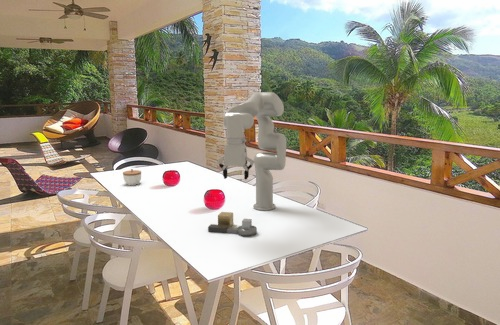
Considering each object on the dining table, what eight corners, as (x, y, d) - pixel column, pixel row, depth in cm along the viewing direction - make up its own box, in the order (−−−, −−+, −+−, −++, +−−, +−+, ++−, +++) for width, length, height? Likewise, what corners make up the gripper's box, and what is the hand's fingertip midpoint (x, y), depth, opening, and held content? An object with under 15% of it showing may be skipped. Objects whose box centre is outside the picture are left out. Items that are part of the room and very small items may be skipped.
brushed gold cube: (222, 223, 201) (221, 211, 200) (233, 224, 199) (233, 212, 198) (218, 227, 195) (217, 215, 194) (229, 228, 194) (229, 216, 193)
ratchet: (212, 227, 195) (212, 214, 194) (258, 230, 190) (258, 217, 188) (206, 233, 187) (205, 220, 186) (254, 237, 181) (253, 223, 180)
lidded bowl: (120, 185, 286) (118, 169, 284) (134, 181, 296) (133, 167, 294) (131, 187, 279) (130, 171, 277) (145, 183, 289) (144, 168, 287)
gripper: (255, 140, 182) (256, 177, 185) (219, 140, 186) (220, 176, 189) (252, 142, 175) (252, 181, 178) (214, 142, 179) (215, 179, 182)
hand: (235, 178), depth 183 cm, fingers open, 9 cm apart
